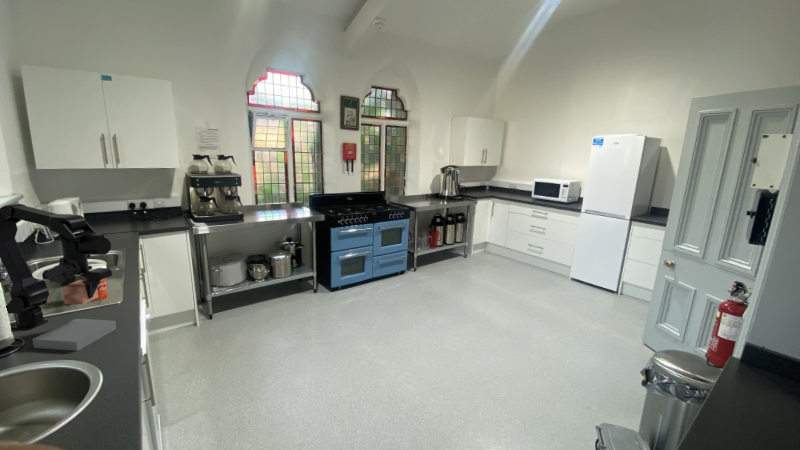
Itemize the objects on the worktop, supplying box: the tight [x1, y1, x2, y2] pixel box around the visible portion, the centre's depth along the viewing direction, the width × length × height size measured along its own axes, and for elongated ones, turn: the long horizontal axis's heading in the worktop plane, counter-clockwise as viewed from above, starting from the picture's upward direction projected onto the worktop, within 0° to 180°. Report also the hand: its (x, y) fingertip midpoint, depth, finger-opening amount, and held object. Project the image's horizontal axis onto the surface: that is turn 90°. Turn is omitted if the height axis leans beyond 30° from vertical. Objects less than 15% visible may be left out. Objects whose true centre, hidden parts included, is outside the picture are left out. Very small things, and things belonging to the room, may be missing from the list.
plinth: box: [32, 318, 117, 352], centre depth 113 cm, size 14×14×3 cm
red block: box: [61, 279, 98, 305], centre depth 117 cm, size 6×6×6 cm
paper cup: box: [83, 263, 108, 302], centre depth 142 cm, size 8×8×14 cm
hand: (81, 297), depth 117 cm, fingers closed on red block, 6 cm apart
